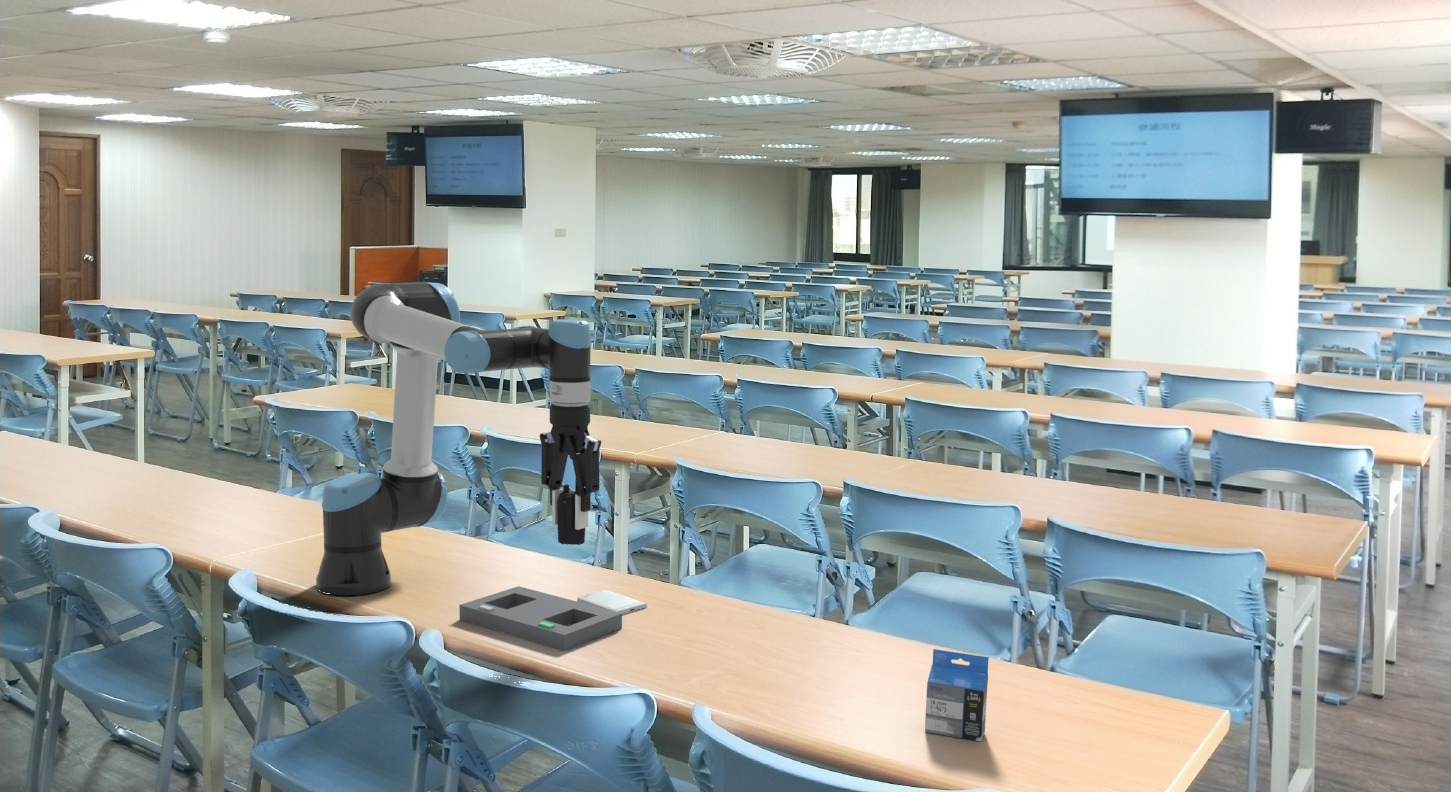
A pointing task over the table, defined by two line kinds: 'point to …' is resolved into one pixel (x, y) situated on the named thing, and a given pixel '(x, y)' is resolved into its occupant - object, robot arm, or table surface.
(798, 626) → the table surface
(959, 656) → the label tape cartridge
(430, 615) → the table surface
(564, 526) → the two-way radio
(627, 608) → the hard drive
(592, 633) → the charging base
